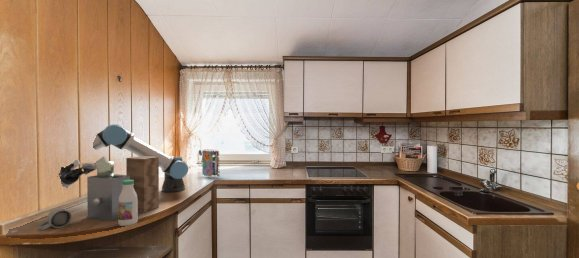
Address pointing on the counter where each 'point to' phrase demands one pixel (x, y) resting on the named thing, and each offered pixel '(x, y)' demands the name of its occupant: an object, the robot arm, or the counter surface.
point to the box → (210, 163)
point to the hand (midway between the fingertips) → (92, 159)
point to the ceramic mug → (57, 219)
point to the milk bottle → (127, 204)
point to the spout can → (101, 168)
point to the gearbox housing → (104, 196)
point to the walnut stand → (145, 180)
